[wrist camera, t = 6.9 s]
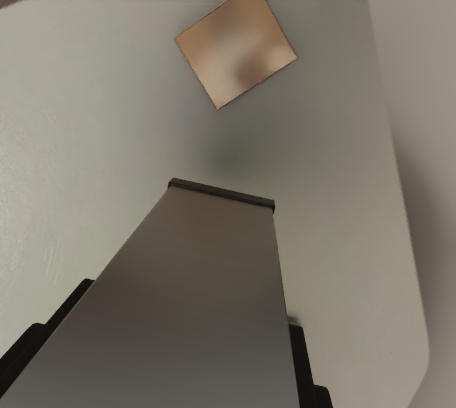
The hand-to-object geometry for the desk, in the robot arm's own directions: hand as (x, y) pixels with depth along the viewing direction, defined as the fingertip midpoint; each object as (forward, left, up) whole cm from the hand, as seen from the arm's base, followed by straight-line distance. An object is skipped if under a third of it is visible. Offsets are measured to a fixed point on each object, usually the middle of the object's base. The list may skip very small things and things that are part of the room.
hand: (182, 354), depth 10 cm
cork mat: (-5, -7, -23) cm, 25 cm away
